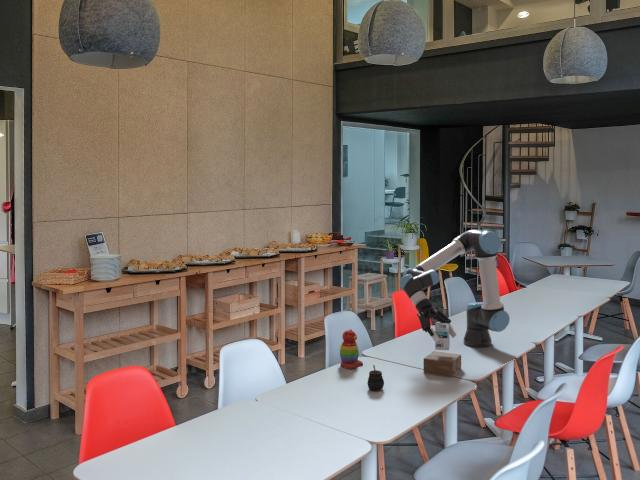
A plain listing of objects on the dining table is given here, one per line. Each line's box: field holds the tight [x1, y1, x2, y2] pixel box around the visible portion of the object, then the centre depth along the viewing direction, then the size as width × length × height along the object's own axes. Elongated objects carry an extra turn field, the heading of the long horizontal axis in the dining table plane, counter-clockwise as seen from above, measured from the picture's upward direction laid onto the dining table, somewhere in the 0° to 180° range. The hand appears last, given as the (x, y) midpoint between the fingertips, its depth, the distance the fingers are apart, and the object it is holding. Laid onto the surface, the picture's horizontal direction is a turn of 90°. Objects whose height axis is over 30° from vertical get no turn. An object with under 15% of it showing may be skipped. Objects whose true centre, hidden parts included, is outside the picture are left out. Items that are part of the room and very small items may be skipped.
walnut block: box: [423, 350, 462, 378], centre depth 291 cm, size 14×14×7 cm
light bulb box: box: [434, 322, 451, 351], centre depth 289 cm, size 11×7×11 cm, turn 167°
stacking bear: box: [339, 328, 364, 370], centre depth 302 cm, size 11×10×18 cm
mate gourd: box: [366, 364, 385, 392], centre depth 267 cm, size 7×8×10 cm
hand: (446, 338), depth 288 cm, fingers closed on light bulb box, 12 cm apart
